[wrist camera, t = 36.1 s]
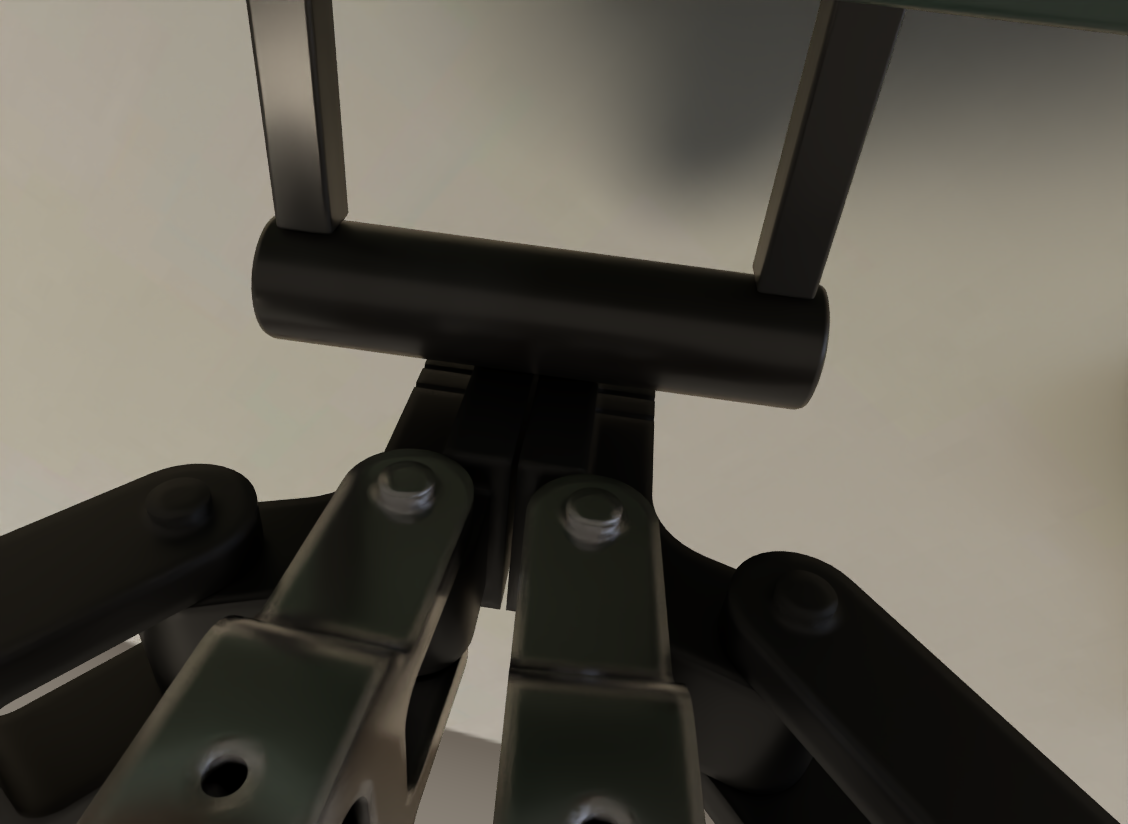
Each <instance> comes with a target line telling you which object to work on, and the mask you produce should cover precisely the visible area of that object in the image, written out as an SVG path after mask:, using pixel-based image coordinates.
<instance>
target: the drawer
mask: <svg viewBox="0 0 1128 824" xmlns="http://www.w3.org/2000/svg"><path fill="white" fill-rule="evenodd" d="M246 3H247V10H248V17H249V25H250V32H251V40H252V47H253V54H254V62H255V69H256V76H257V84H258V91H259V99H260V106H261V113H262V121H263V128H264V136H265V143H266V150H267V158H268V165H269V172H270V180H271V187H272V195H273V202H274V209H275V216H274V217H273V218H271V219H270V220H269V222H268V223H267V224H266V226H265V227H264V229H263V231H262V233H261V235H260V238H259V241H258V244H257V247H256V251H255V255H254V261H253V268H252V300H253V307H254V312H255V315H256V318H257V321H258V323H259V325H260V327H261V328H262V330H263V331H264V332H265V333H267V334H268V335H270V336H271V337H273V338H277V339H284V340H291V341H299V342H306V343H313V344H321V345H328V346H335V347H342V348H350V349H357V350H364V351H371V352H379V353H386V354H393V355H401V356H408V357H415V358H422V359H430V360H437V361H444V362H451V363H459V364H466V365H473V366H481V367H488V368H495V369H502V370H510V371H517V372H524V373H531V374H539V375H546V376H553V377H561V378H568V379H575V380H582V381H590V382H597V383H604V384H611V385H619V386H626V387H633V388H641V389H648V390H655V391H662V392H670V393H677V394H684V395H691V396H699V397H706V398H713V399H721V400H728V401H735V402H742V403H750V404H757V405H764V406H771V407H779V408H786V409H793V410H795V409H799V408H803V407H804V406H805V405H806V404H807V403H808V402H809V400H810V399H811V397H812V395H813V393H814V391H815V389H816V387H817V384H818V382H819V379H820V376H821V373H822V369H823V366H824V361H825V357H826V352H827V346H828V339H829V328H830V311H829V301H828V296H827V292H826V290H825V288H824V287H823V286H821V285H819V283H820V280H821V277H822V274H823V270H824V267H825V264H826V261H827V258H828V255H829V252H830V248H831V245H832V242H833V239H834V236H835V233H836V230H837V226H838V223H839V220H840V217H841V214H842V211H843V208H844V204H845V201H846V198H847V195H848V192H849V189H850V186H851V182H852V179H853V176H854V173H855V170H856V167H857V164H858V160H859V157H860V154H861V151H862V148H863V145H864V141H865V138H866V135H867V132H868V129H869V126H870V123H871V119H872V116H873V113H874V110H875V107H876V104H877V101H878V97H879V94H880V91H881V88H882V85H883V82H884V79H885V75H886V72H887V69H888V66H889V63H890V60H891V57H892V53H893V50H894V47H895V44H896V41H897V38H898V35H899V31H900V28H901V25H902V22H903V19H904V16H905V12H906V9H912V10H920V11H929V12H937V13H945V14H954V15H962V16H970V17H979V18H987V19H995V20H1004V21H1012V22H1020V23H1029V24H1037V25H1045V26H1053V27H1062V28H1070V29H1078V30H1087V31H1095V32H1103V33H1112V34H1120V35H1128V0H821V2H820V6H819V10H818V14H817V18H816V22H815V25H814V29H813V33H812V37H811V41H810V45H809V49H808V53H807V57H806V60H805V64H804V68H803V72H802V76H801V80H800V84H799V88H798V92H797V95H796V99H795V103H794V107H793V111H792V115H791V119H790V123H789V126H788V130H787V134H786V138H785V142H784V146H783V150H782V154H781V158H780V161H779V165H778V169H777V173H776V177H775V181H774V185H773V189H772V193H771V196H770V200H769V204H768V208H767V212H766V216H765V220H764V224H763V227H762V231H761V235H760V239H759V243H758V247H757V251H756V255H755V259H754V262H753V271H754V274H747V273H740V272H732V271H725V270H717V269H709V268H702V267H694V266H687V265H679V264H672V263H664V262H656V261H649V260H641V259H634V258H626V257H619V256H611V255H603V254H596V253H588V252H581V251H573V250H566V249H558V248H550V247H543V246H535V245H528V244H520V243H513V242H505V241H497V240H490V239H482V238H475V237H467V236H460V235H452V234H444V233H437V232H429V231H422V230H414V229H407V228H399V227H391V226H384V225H376V224H369V223H361V222H354V221H346V220H344V219H345V217H346V216H347V214H348V203H347V190H346V177H345V164H344V151H343V138H342V125H341V112H340V99H339V86H338V73H337V60H336V47H335V34H334V21H333V8H332V0H246Z"/></svg>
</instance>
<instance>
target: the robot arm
mask: <svg viewBox="0 0 1128 824" xmlns="http://www.w3.org/2000/svg"><path fill="white" fill-rule="evenodd" d="M654 399H655V390H648V389H641V388H633V387H626V386H619V385H611V384H604V383H597V382H590V381H582V380H575V379H568V378H561V377H553V376H546V375H539V374H531V373H524V372H517V371H510V370H502V369H495V368H488V367H481V366H473V365H466V364H459V363H451V362H444V361H437V360H430V359H427V360H426V363H425V368H423V369H422V371H421V373H420V376H419V378H418V380H417V382H416V387H414V389H413V391H412V393H411V395H410V397H409V400H408V402H407V404H406V406H405V408H404V410H403V413H402V415H401V417H400V419H399V421H398V423H397V426H396V428H395V430H394V432H393V434H392V436H391V439H390V441H389V443H388V445H387V447H386V449H385V452H382V453H379V454H376V455H373V456H371V457H369V458H367V459H365V460H363V461H362V462H360V463H359V464H357V465H356V466H355V467H354V468H352V469H351V470H350V471H349V472H348V474H347V475H346V476H345V478H344V479H343V480H342V482H341V484H340V485H339V487H338V488H337V490H336V492H333V493H329V494H325V495H321V496H316V497H308V498H299V499H288V500H276V501H265V502H258V500H257V495H256V492H255V489H254V487H253V485H252V484H251V483H250V481H249V480H248V479H247V478H245V477H244V476H243V475H242V474H240V473H238V472H236V471H234V470H232V469H229V468H226V467H223V466H218V465H212V464H186V465H180V466H174V467H170V468H166V469H162V470H159V471H157V472H154V473H151V474H148V475H146V476H144V477H141V478H139V479H136V480H134V481H132V482H129V483H127V484H125V485H122V486H120V487H117V488H115V489H113V490H110V491H108V492H105V493H103V494H101V495H98V496H96V497H93V498H91V499H89V500H86V501H84V502H81V503H79V504H77V505H74V506H72V507H69V508H67V509H65V510H62V511H60V512H57V513H55V514H53V515H50V516H48V517H45V518H43V519H41V520H38V521H36V522H33V523H31V524H29V525H26V526H24V527H21V528H19V529H17V530H14V531H12V532H10V533H7V534H5V535H2V536H0V709H1V708H2V707H4V706H5V705H7V704H8V703H10V702H12V701H14V700H15V699H17V698H19V697H21V696H23V695H25V694H27V693H29V692H30V691H32V690H34V689H36V688H38V687H39V686H41V685H43V684H45V683H47V682H49V681H51V680H53V679H54V678H57V677H58V676H60V675H62V674H64V673H66V672H68V671H70V670H72V669H73V668H75V667H77V666H79V665H81V664H83V663H84V662H86V661H88V660H90V659H92V658H94V657H96V656H98V655H99V654H101V653H103V652H105V651H107V650H109V649H110V648H112V647H115V646H116V645H118V644H120V643H122V642H124V641H126V640H128V639H130V638H131V637H133V636H135V635H137V634H139V635H140V638H141V641H142V642H141V643H139V644H137V645H136V646H134V647H132V648H130V649H128V650H126V651H125V652H123V653H121V654H119V655H117V656H115V657H113V658H112V659H110V660H108V661H106V662H104V663H103V664H101V665H99V666H97V667H95V668H93V669H91V670H90V671H88V672H86V673H84V674H82V675H80V676H79V677H77V678H75V679H73V680H71V681H69V682H67V683H66V684H64V685H62V686H60V687H58V688H56V689H55V690H53V691H51V692H49V693H47V694H45V695H44V696H42V697H40V698H38V699H36V700H34V701H32V702H31V703H29V704H27V705H25V706H24V707H22V708H20V709H17V710H15V711H13V712H11V713H8V714H5V715H2V716H0V824H414V821H415V817H416V813H417V810H418V806H419V803H420V800H421V797H422V794H423V791H424V788H425V785H426V782H427V779H428V776H429V774H430V771H431V768H432V765H433V761H434V759H435V756H436V752H437V750H438V747H439V744H440V741H441V738H442V735H443V732H444V729H445V726H446V723H447V720H448V717H449V714H450V711H451V708H452V705H453V702H454V699H455V696H456V693H457V690H458V687H459V684H460V682H461V679H462V676H463V673H464V670H465V667H466V663H467V658H468V646H469V645H470V643H471V640H472V637H473V634H474V630H475V626H476V622H477V618H478V614H479V610H480V606H481V607H487V608H494V609H500V608H501V603H502V599H503V594H504V589H505V585H506V580H507V576H508V571H509V581H508V594H507V606H506V610H510V611H516V614H515V623H514V633H513V643H512V652H511V662H510V668H509V677H508V686H507V696H506V705H505V715H504V724H503V734H502V743H501V753H500V763H499V772H498V782H497V791H496V801H495V811H494V820H493V824H706V823H705V813H704V809H705V811H706V812H707V813H708V815H709V816H710V817H711V819H712V820H713V821H714V823H715V824H1120V823H1119V822H1118V821H1117V820H1116V819H1114V818H1113V817H1112V816H1111V815H1110V814H1109V813H1108V812H1107V811H1106V810H1105V809H1103V808H1102V807H1101V806H1100V805H1099V804H1098V803H1097V802H1096V801H1095V800H1094V799H1092V798H1091V797H1090V796H1089V795H1088V794H1087V793H1086V792H1085V791H1084V790H1082V789H1081V788H1080V787H1079V786H1078V785H1077V784H1076V783H1075V782H1074V781H1073V780H1071V779H1070V778H1069V777H1068V776H1067V775H1066V774H1065V773H1064V772H1063V771H1062V770H1060V769H1059V768H1058V767H1057V766H1056V765H1055V764H1054V763H1053V762H1052V761H1050V760H1049V759H1048V758H1047V757H1046V756H1045V755H1044V754H1043V753H1042V752H1041V751H1039V750H1038V749H1037V748H1036V747H1035V746H1034V745H1033V744H1032V743H1031V742H1030V741H1028V740H1027V739H1026V738H1025V737H1024V736H1023V735H1022V734H1021V733H1020V732H1018V731H1017V730H1016V729H1015V728H1014V727H1013V726H1012V725H1011V724H1010V723H1009V722H1007V721H1006V720H1005V719H1004V718H1003V717H1002V716H1001V715H1000V714H999V713H998V712H996V711H995V710H994V709H993V708H992V707H991V706H990V705H989V704H988V703H986V702H985V701H984V700H983V699H982V698H981V697H980V696H979V695H978V694H977V693H975V692H974V691H973V690H972V689H971V688H970V687H969V686H968V685H967V684H966V683H964V682H963V681H962V680H961V679H960V678H959V677H958V676H957V675H956V674H954V673H953V672H952V671H951V670H950V669H949V668H948V667H947V666H946V665H945V664H943V663H942V662H941V661H940V660H939V659H938V658H937V657H936V656H935V655H933V654H932V653H931V652H930V651H929V650H928V649H927V648H926V647H925V646H924V645H922V644H921V643H920V642H919V641H918V640H917V639H916V638H915V637H914V636H913V635H911V634H910V633H909V632H908V631H907V630H906V629H905V628H904V627H903V626H901V625H900V624H899V623H898V622H897V621H896V620H895V619H894V618H893V617H892V616H890V615H889V614H888V613H887V612H886V611H885V610H884V609H883V608H882V607H881V606H879V605H878V604H877V603H876V602H875V601H874V600H873V599H872V598H871V597H869V596H868V595H867V594H866V593H865V592H864V591H863V590H862V589H861V588H860V587H858V586H857V585H856V584H855V583H854V582H853V581H852V580H851V579H849V578H848V577H847V576H846V575H844V574H843V573H842V572H841V571H839V570H837V569H836V568H834V567H833V566H831V565H829V564H827V563H825V562H823V561H821V560H819V559H816V558H813V557H810V556H808V555H804V554H799V553H795V552H786V551H772V552H766V553H761V554H758V555H755V556H753V557H751V558H749V559H747V560H746V561H744V562H743V563H742V564H741V565H740V566H739V567H738V568H737V569H734V568H732V567H729V566H727V565H725V564H722V563H720V562H717V561H715V560H712V559H710V558H708V557H705V556H703V555H701V554H699V553H697V552H695V551H693V550H691V549H690V548H688V547H686V546H685V545H683V544H682V543H681V542H679V541H678V540H677V539H676V538H674V537H673V536H672V535H671V534H670V533H669V532H668V531H667V530H666V529H665V527H664V526H663V524H662V523H661V522H660V520H659V518H658V516H657V514H656V512H655V509H654V506H653V500H652V483H653V447H654V411H655V401H654ZM509 567H510V569H509Z"/></svg>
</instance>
